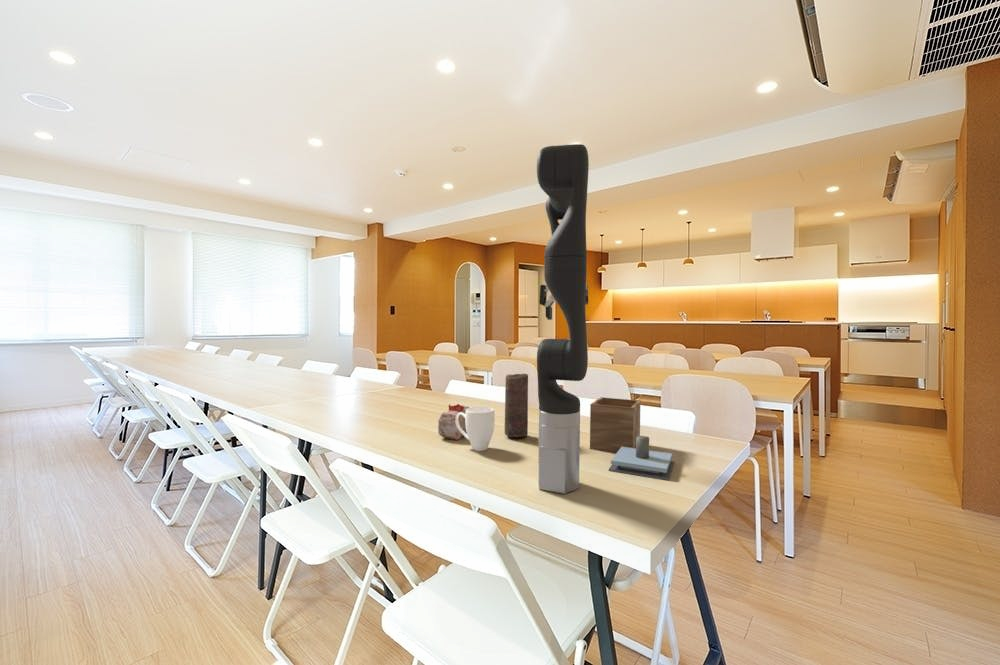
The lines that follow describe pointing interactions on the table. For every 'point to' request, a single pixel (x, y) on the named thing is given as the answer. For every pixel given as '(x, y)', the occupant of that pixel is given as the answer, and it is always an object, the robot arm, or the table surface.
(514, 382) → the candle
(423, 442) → the table surface
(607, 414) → the box
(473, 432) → the mug
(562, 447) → the robot arm
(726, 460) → the table surface
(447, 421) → the grey speckled jug shape
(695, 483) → the table surface
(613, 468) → the mat
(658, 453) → the lid
